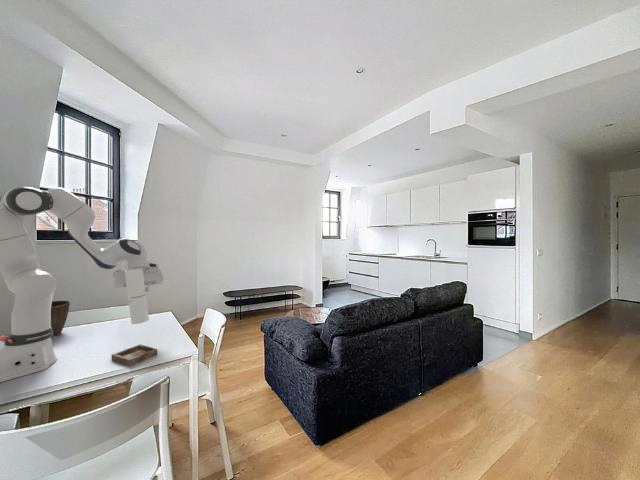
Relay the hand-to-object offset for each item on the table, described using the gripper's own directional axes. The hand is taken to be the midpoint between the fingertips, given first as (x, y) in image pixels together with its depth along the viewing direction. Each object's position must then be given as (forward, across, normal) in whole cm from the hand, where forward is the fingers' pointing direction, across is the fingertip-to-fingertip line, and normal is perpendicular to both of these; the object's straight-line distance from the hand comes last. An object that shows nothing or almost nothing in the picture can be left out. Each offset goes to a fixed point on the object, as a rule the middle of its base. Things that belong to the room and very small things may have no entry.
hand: (140, 291), depth 133 cm
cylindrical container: (+10, 0, +11) cm, 14 cm away
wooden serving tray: (+28, -4, +9) cm, 29 cm away
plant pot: (-12, -34, +50) cm, 62 cm away
